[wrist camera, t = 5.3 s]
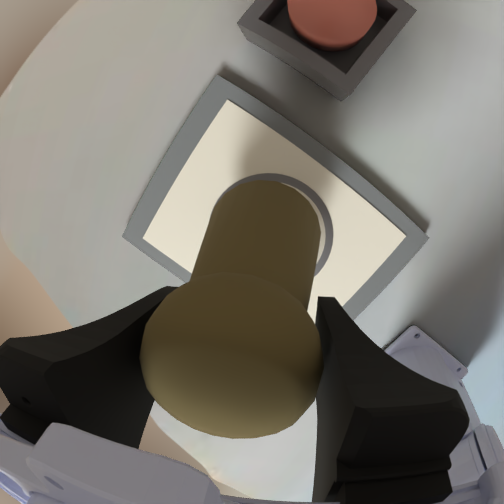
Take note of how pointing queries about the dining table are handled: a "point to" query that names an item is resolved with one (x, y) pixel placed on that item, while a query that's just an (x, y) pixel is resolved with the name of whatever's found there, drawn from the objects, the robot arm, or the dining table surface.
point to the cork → (242, 319)
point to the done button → (331, 22)
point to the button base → (319, 61)
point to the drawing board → (272, 169)
